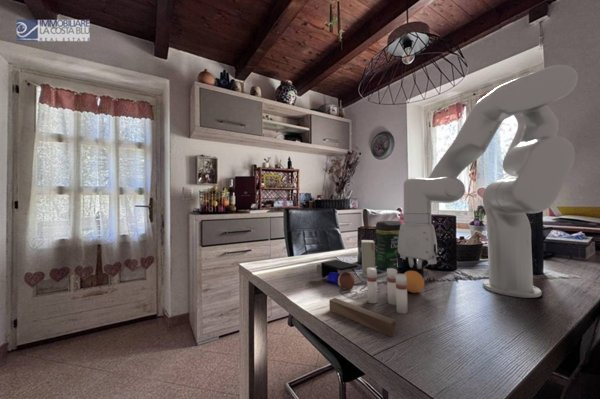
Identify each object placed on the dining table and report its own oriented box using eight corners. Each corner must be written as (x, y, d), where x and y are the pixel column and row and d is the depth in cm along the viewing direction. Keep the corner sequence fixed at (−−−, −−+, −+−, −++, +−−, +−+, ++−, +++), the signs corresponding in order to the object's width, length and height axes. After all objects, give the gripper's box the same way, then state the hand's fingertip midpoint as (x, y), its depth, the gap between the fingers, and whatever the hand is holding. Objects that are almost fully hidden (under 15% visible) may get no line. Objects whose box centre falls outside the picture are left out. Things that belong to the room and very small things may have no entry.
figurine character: (315, 284, 83) (342, 292, 70) (314, 261, 84) (340, 265, 71) (332, 280, 86) (361, 288, 73) (330, 258, 87) (358, 262, 74)
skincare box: (376, 278, 83) (375, 242, 83) (362, 278, 84) (361, 242, 84) (374, 273, 89) (373, 239, 90) (362, 272, 90) (361, 239, 91)
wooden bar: (335, 307, 60) (334, 297, 60) (396, 333, 48) (396, 320, 48) (329, 310, 59) (329, 300, 59) (391, 336, 47) (390, 323, 47)
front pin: (390, 300, 64) (389, 267, 64) (399, 302, 62) (398, 269, 63) (386, 302, 63) (385, 269, 63) (394, 305, 61) (393, 271, 61)
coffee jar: (386, 272, 90) (385, 221, 91) (373, 267, 98) (371, 220, 98) (407, 269, 94) (405, 220, 94) (392, 264, 101) (390, 219, 102)
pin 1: (371, 299, 65) (370, 267, 66) (379, 301, 64) (378, 268, 64) (365, 301, 64) (365, 268, 64) (373, 304, 62) (372, 270, 62)
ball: (409, 276, 75) (402, 264, 72) (429, 281, 70) (423, 268, 68) (402, 293, 72) (395, 281, 69) (423, 299, 67) (416, 286, 65)
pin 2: (399, 308, 59) (398, 273, 59) (409, 311, 57) (408, 275, 58) (394, 311, 58) (393, 275, 58) (404, 314, 56) (403, 277, 56)
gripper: (387, 218, 77) (387, 277, 77) (437, 221, 65) (438, 290, 65) (400, 217, 82) (400, 273, 82) (449, 220, 70) (449, 284, 70)
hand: (417, 280), depth 73 cm, fingers closed
